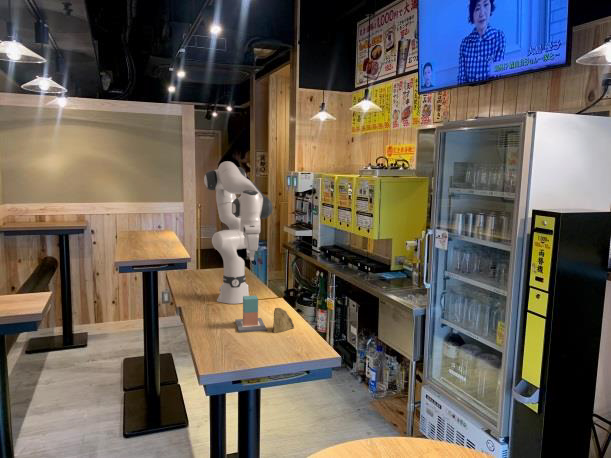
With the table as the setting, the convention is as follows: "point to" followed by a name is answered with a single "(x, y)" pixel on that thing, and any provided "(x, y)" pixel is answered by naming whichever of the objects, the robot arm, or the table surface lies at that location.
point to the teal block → (250, 304)
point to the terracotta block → (250, 318)
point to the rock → (281, 321)
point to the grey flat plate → (250, 328)
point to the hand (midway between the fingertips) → (250, 258)
